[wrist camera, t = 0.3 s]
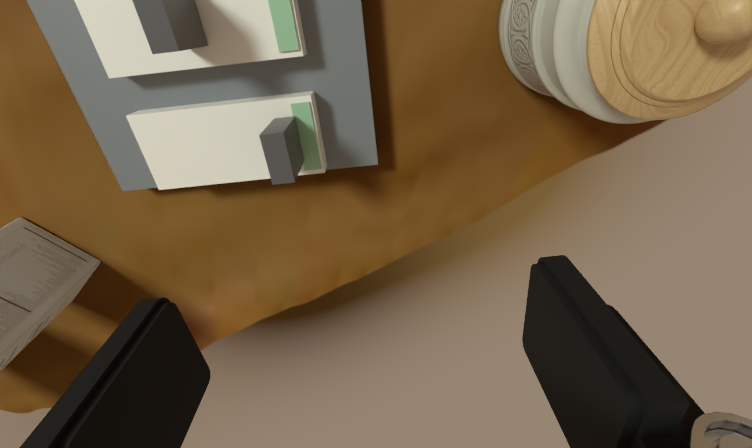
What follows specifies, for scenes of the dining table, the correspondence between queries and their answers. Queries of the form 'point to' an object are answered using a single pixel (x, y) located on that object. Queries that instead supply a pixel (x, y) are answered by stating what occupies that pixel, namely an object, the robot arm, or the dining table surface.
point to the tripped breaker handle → (171, 25)
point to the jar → (629, 53)
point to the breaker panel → (217, 87)
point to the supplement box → (35, 282)
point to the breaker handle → (282, 150)
